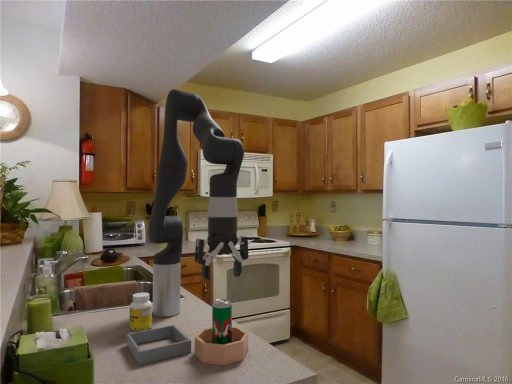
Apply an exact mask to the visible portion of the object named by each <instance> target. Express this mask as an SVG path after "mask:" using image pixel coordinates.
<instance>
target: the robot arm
mask: <svg viewBox="0 0 512 384" xmlns="http://www.w3.org/2000/svg"><path fill="white" fill-rule="evenodd" d="M164 110H165V111H164V119H163V120H164V121H163V123H164V124H163V137H162V144H161V151H160V158H159V161H158V163H159V164H158V169H157V176H156V177H157V178H156V187H155V194H154V200H153V204H152V209H151V212H150V213H151V214H150V218H149V223H148V232H147V235H148V239H149V241H150V242H151V243H152V244H167V245H166V246H165V247H164V248H163V249H162V250H159V252H156V253H155V254H153V256H152V258H153V259H152V316H154V317H160V318H163V317H173V316H176V315H178V314H180V313H181V274H182V273H181V271H182V270H181V258H182V253H183V239H184V224H183V220H182V219H181V218H180V216H178V215H166V214H167V211H168V207H169V205H170V204H171V202H172V201H173V199H174V198H175V197H176V196H177V194H178V193H179V192H180V191H181V189H182V188H183V186H184V185H185V183H186V179H187V173H188V167H189V162H188V161H189V160H188V157H187V154H186V153H185V150H184V148H183V146H182V143H181V140H180V137H179V134H178V121H181V122H186V123H193V124H192V132H193V135H194V137H195V138H196V140H197V141H198V142H199V144H200V146H201V150H202V156H203V159H204V160H205V161H206V162H207V163H210V164H212V165H220V166H221V165H223V166H225V169H224V171H223V172H220V173H215V174H213V175H210V178H209V189H208V190H209V191H208V192H209V193H208V195H209V198H208V199H209V200H208V205H207V234H208V235H207V238H204V239H202V238H196V239H195V246H194V247H195V248H194V249H195V250H194V263H197V264H198V265H201V277H202V278H203V280H204V281H207V282H210V281H211V265H210V264H211V263H212V261H213V260H214V259H215V258H216V257H217V256H223V255H227V256H228V255H230V256H231V257H232V259H233V260H234V261H233V276H234V277H236V278H238V277H240V276H241V274H242V270H243V269H242V265H243V264H242V263H243V261H245V260H248V259H249V240H248V239H249V238H248V236H245V235H240V236H238V235H237V233H238V214H239V211H238V209H239V208H238V200H237V199H238V198H237V197H238V195H237V194H238V190H237V189H238V187H237V186H238V180H239V175H240V171H241V167H242V164H243V161H244V158H245V157H244V156H245V148H244V145H243V143H242V141H241V140H240V139H237V138H233V137H226V135H225V132H224V130H223V129H222V128H221V127H220V125H218V123H217V122H215V120H214V119H213V118H212V117H211V114H210V112H209V110H208V108H207V105H206V104H205V102H204V100H203V99H202V97H201V96H200V95H198V94H196V93H193V92H190V91H189V92H188V91H185V90H180V89H174V88H173V89H171V90H169V92H168V94H167V95H166V100H165V107H164ZM237 245H239V251H238V249H237V247H236V246H237ZM206 246H208V249H207V250H206V252H205V253H204V251H205V248H206ZM204 254H205V255H204Z"/></svg>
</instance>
